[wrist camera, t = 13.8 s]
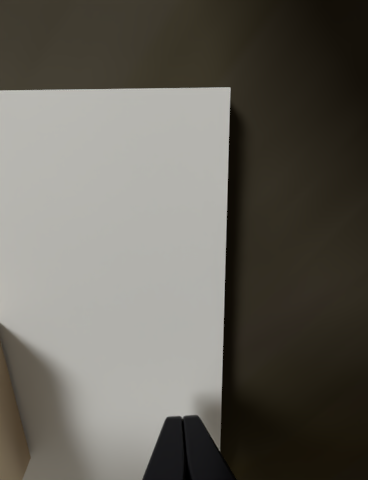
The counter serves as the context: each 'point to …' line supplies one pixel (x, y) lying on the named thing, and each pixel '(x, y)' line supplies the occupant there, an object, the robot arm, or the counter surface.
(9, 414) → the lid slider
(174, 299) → the board
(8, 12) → the counter surface
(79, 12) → the counter surface
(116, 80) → the counter surface
